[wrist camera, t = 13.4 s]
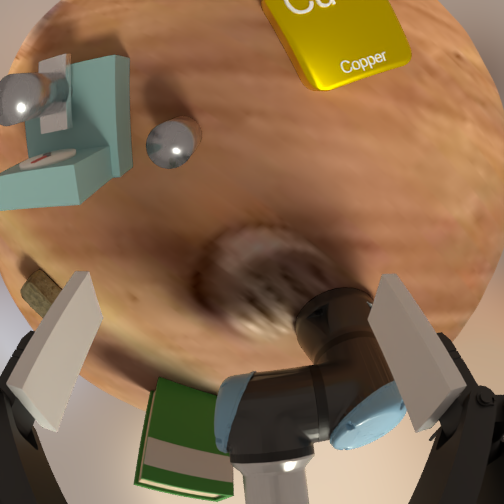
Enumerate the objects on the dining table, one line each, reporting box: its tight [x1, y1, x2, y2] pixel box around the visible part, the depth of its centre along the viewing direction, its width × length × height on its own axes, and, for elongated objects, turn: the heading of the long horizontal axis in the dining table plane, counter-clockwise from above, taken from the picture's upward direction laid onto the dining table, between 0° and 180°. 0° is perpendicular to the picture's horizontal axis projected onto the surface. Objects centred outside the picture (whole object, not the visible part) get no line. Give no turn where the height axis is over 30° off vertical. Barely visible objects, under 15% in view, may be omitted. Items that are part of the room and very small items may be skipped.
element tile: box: [261, 0, 412, 91], centre depth 28 cm, size 15×15×5 cm
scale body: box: [0, 55, 133, 211], centre depth 28 cm, size 15×14×14 cm
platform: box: [39, 53, 73, 134], centre depth 26 cm, size 9×4×3 cm, turn 178°
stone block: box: [21, 270, 62, 318], centre depth 46 cm, size 6×12×5 cm, turn 36°
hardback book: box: [134, 377, 234, 502], centre depth 53 cm, size 18×7×24 cm, turn 60°
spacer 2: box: [146, 116, 202, 169], centre depth 33 cm, size 5×5×8 cm
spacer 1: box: [0, 72, 69, 126], centre depth 21 cm, size 5×5×8 cm
